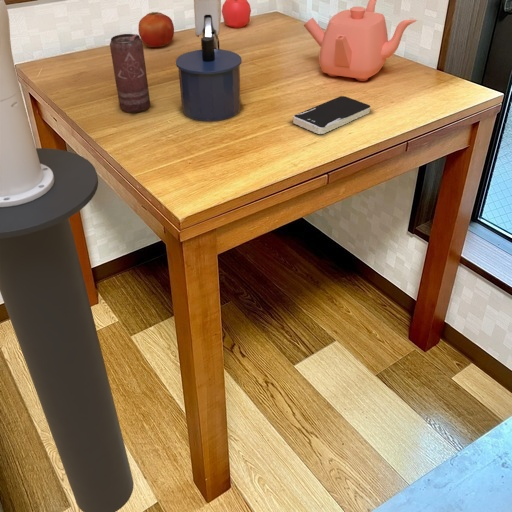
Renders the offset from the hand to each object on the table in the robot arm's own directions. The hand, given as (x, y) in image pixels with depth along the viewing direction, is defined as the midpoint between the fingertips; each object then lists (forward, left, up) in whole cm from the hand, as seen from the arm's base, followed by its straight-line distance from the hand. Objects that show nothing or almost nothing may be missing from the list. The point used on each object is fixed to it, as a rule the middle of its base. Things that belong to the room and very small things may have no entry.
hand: (211, 62), depth 127 cm
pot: (-8, -10, -5) cm, 14 cm away
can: (-19, +1, -5) cm, 20 cm away
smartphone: (+7, -29, -5) cm, 30 cm away
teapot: (+29, -15, -5) cm, 33 cm away
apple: (+31, +30, -5) cm, 43 cm away
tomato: (+6, +31, -5) cm, 32 cm away
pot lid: (-8, -10, +5) cm, 14 cm away
